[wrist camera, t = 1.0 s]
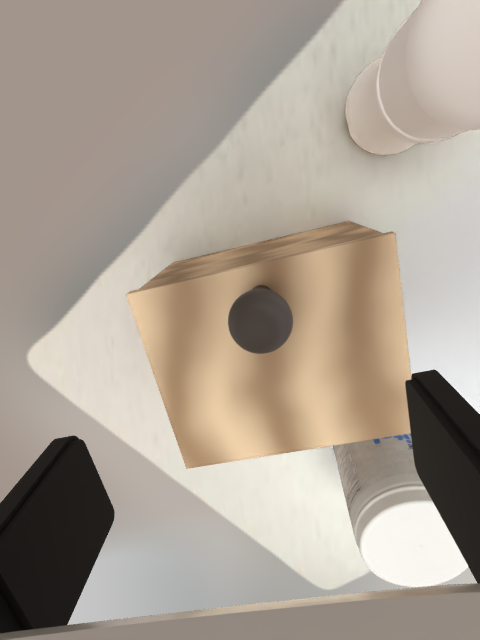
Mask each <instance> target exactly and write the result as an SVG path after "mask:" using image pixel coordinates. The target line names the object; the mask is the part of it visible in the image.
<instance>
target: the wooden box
mask: <svg viewBox="0 0 480 640" xmlns="http://www.w3.org/2000/svg"><path fill="white" fill-rule="evenodd" d="M379 234H383V233H381V232H378V231H375V230H372V229H370V228H367V227H364V226H361V225H359V224H356V223H353V222H350V221H348V222H344V223H339V224H335V225H331V226H327V227H323V228H318V229H314V230H310V231H306V232H301V233H297V234H293V235H289V236H284V237H280V238H276V239H272V240H268V241H263V242H259V243H255V244H251V245H246V246H242V247H238V248H234V249H230V250H225V251H221V252H217V253H213V254H208V255H204V256H200V257H196V258H191V259H187V260H183V261H179V262H175V263H172V264H171V265H169V266H168V267H167V268H165V269H164V270H163V271H162V272H160V273H159V274H158V275H156V276H155V277H154V278H153V279H151V280H150V281H149V282H148V283H146V284H145V285H144V286H142V287H141V288H140V289H143V288H148V287H152V286H156V285H161V284H165V283H170V282H174V281H178V280H183V279H187V278H191V277H196V276H200V275H204V274H209V273H213V272H217V271H222V270H226V269H231V268H235V267H239V266H244V265H248V264H252V263H257V262H261V261H265V260H270V259H274V258H278V257H283V256H287V255H292V254H296V253H300V252H305V251H309V250H313V249H318V248H322V247H326V246H331V245H335V244H340V243H344V242H348V241H353V240H357V239H361V238H366V237H370V236H374V235H379Z"/></svg>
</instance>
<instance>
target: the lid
mask: <svg viewBox="0 0 480 640" xmlns="http://www.w3.org/2000/svg"><path fill="white" fill-rule="evenodd" d="M126 296H127V299H128V302H129V305H130V307H131V310H132V313H133V316H134V319H135V322H136V325H137V328H138V330H139V333H140V336H141V339H142V342H143V345H144V348H145V351H146V354H147V356H148V359H149V362H150V365H151V368H152V371H153V374H154V377H155V379H156V382H157V385H158V388H159V391H160V394H161V397H162V400H163V402H164V405H165V408H166V411H167V414H168V417H169V420H170V423H171V425H172V428H173V431H174V434H175V437H176V440H177V443H178V446H179V448H180V451H181V454H182V457H183V460H184V463H185V466H186V469H187V468H194V467H200V466H206V465H213V464H219V463H225V462H232V461H238V460H244V459H251V458H257V457H264V456H270V455H276V454H283V453H289V452H295V451H302V450H308V449H314V448H321V447H327V446H333V445H340V444H346V443H352V442H359V441H365V440H371V439H378V438H384V437H390V436H397V435H403V434H409V433H411V430H410V422H409V413H408V404H407V396H406V387H405V382H406V380H411V370H410V361H409V352H408V343H407V334H406V325H405V316H404V307H403V298H402V289H401V279H400V270H399V261H398V252H397V243H396V234H395V233H394V232H387V233H383V234H379V235H374V236H370V237H366V238H361V239H357V240H353V241H348V242H344V243H340V244H335V245H331V246H326V247H322V248H318V249H313V250H309V251H305V252H300V253H296V254H292V255H287V256H283V257H278V258H274V259H270V260H265V261H261V262H257V263H252V264H248V265H244V266H239V267H235V268H231V269H226V270H222V271H217V272H213V273H209V274H204V275H200V276H196V277H191V278H187V279H183V280H178V281H174V282H170V283H165V284H161V285H156V286H152V287H148V288H143V289H139V290H135V291H130V292H129V293H127V294H126Z"/></svg>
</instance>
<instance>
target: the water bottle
mask: <svg viewBox="0 0 480 640" xmlns="http://www.w3.org/2000/svg"><path fill="white" fill-rule="evenodd" d="M345 115H346V119H347V123H348V128H349V133H350V135H351V137H352V139H353V140H354V141H355V143H356V144H358V145H359V146H360V147H361V148H363V149H364V150H366V151H368V152H371V153H373V154H379V155H390V154H396V153H399V152H402V151H405V150H407V149H409V148H410V147H412V146H414V145H415V144H427V143H434V142H438V141H442V140H445V139H448V138H451V137H453V136H456V135H458V134H459V133H461V132H465V131H468V130H476V129H480V0H422V1H421V3H420V5H419V6H418V7H417V8H416V10H415V11H414V12H413V13H412V14H411V15H410V16H409V17H408V18H407V19H405V20H404V21H403V23H402V24H401V25H400V26H399V28H398V29H397V30H396V32H395V33H394V35H393V36H392V38H391V39H390V41H389V43H388V45H387V47H386V49H385V51H384V53H383V56H382V57H380V58H378V59H376V60H374V61H373V62H372V63H370V64H369V65H368V66H367V67H365V68H364V70H363V71H362V72H361V73H360V74H359V76H358V77H357V78H356V80H355V82H354V84H353V85H352V87H351V89H350V92H349V94H348V97H347V102H346V108H345Z"/></svg>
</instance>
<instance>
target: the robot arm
mask: <svg viewBox="0 0 480 640" xmlns="http://www.w3.org/2000/svg"><path fill="white" fill-rule="evenodd" d="M405 387H406V396H407V404H408V413H409V422H410V430H411V439H412V447H413V456H414V463H415V468H416V471H417V473H418V476H419V478H420V479H421V481H422V483H423V485H424V487H425V489H426V490H427V492H428V494H429V496H430V498H431V499H432V501H433V503H434V505H435V507H436V508H437V510H438V512H439V514H440V516H441V518H442V519H443V521H444V523H445V525H446V527H447V528H448V530H449V532H450V534H451V536H452V537H453V539H454V541H455V543H456V545H457V546H458V548H459V550H460V552H461V554H462V556H463V557H464V559H465V561H466V563H467V565H468V566H469V568H470V570H471V572H472V574H473V575H474V577H475V579H476V581H477V583H478V584H457V585H456V584H453V585H439V586H428V587H417V588H405V589H394V590H383V591H372V592H361V593H351V594H342V595H333V596H323V597H315V598H305V599H295V600H286V601H277V602H267V603H257V604H249V605H239V606H230V607H221V608H212V609H204V610H195V611H185V612H177V613H168V614H159V615H150V616H142V617H134V618H124V619H115V620H107V621H99V622H91V623H82V624H73V625H67V624H68V622H69V620H70V617H71V615H72V613H73V611H74V608H75V606H76V604H77V601H78V599H79V597H80V595H81V593H82V591H83V588H84V586H85V584H86V582H87V579H88V577H89V575H90V573H91V570H92V568H93V566H94V564H95V561H96V559H97V557H98V555H99V552H100V550H101V548H102V546H103V544H104V541H105V539H106V537H107V535H108V533H109V530H110V528H111V526H112V523H113V521H114V509H113V506H112V504H111V501H110V499H109V497H108V495H107V492H106V490H105V488H104V485H103V483H102V481H101V479H100V477H99V474H98V472H97V470H96V467H95V465H94V463H93V460H92V458H91V456H90V454H89V451H88V449H87V447H86V444H85V443H84V441H83V440H81V439H79V438H78V437H76V436H69V437H63V438H58V439H54V440H53V441H52V442H51V443H50V445H49V446H48V447H47V448H46V450H45V451H44V452H43V453H42V454H41V455H40V457H39V458H38V459H37V460H36V461H35V463H34V464H33V465H32V466H31V468H30V469H29V470H28V471H27V472H26V473H25V474H24V476H23V477H22V478H21V479H20V481H19V482H18V483H17V484H16V485H15V486H14V488H13V489H12V490H11V491H10V492H9V494H8V495H7V496H6V497H5V498H4V500H3V501H2V502H1V503H0V640H480V414H479V413H478V412H477V411H476V410H475V409H474V408H473V407H472V406H471V405H470V404H469V403H468V402H467V401H466V400H465V399H464V398H463V397H462V396H461V395H460V394H459V393H458V392H457V391H456V390H455V389H454V388H453V387H452V386H451V385H450V384H449V383H448V382H447V381H446V380H445V379H444V378H443V377H442V376H441V375H440V374H439V373H438V372H437V371H436V370H430V371H424V372H419V373H413V374H412V377H411V380H406V382H405Z"/></svg>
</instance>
